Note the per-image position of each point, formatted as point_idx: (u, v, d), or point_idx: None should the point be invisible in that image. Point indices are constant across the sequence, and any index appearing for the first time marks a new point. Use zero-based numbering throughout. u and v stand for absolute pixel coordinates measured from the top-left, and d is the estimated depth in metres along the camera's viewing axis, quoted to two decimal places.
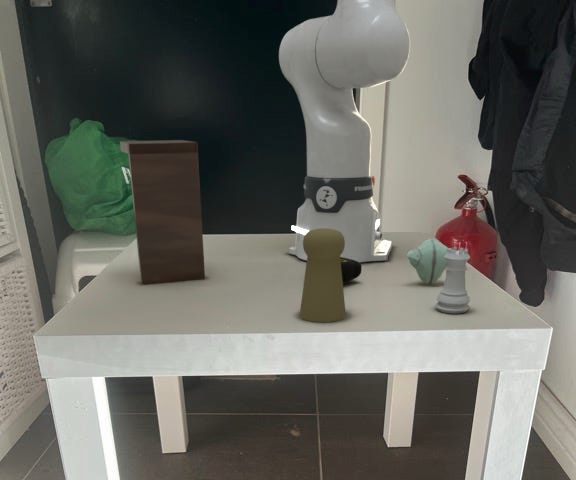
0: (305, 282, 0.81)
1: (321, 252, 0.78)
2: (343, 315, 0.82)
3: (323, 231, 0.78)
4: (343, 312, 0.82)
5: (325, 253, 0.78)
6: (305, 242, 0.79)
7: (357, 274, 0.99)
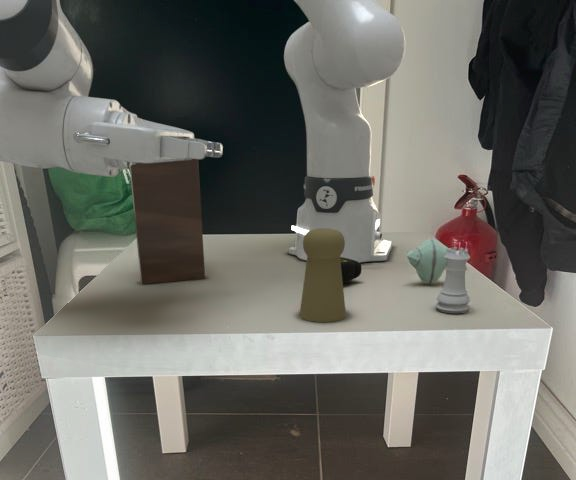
0: (305, 282, 0.81)
1: (321, 252, 0.78)
2: (343, 315, 0.82)
3: (323, 231, 0.78)
4: (343, 312, 0.82)
5: (325, 253, 0.78)
6: (305, 242, 0.79)
7: (357, 274, 0.99)
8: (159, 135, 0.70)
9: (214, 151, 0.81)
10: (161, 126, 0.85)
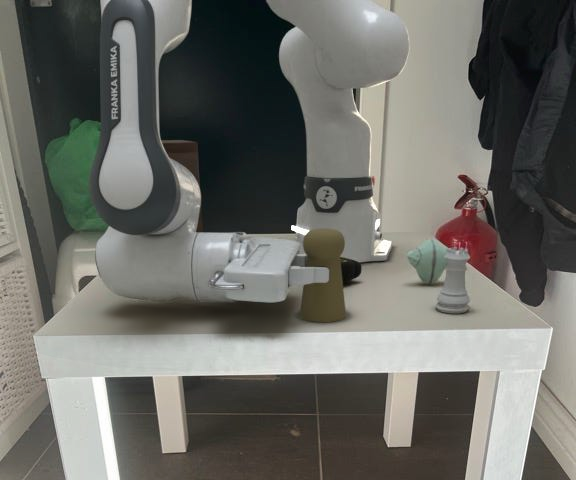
0: None
1: (321, 252, 0.78)
2: (343, 315, 0.82)
3: (323, 231, 0.78)
4: (343, 312, 0.82)
5: (325, 253, 0.78)
6: (305, 242, 0.79)
7: (357, 274, 0.99)
8: (287, 272, 0.75)
9: None
10: (269, 240, 0.89)
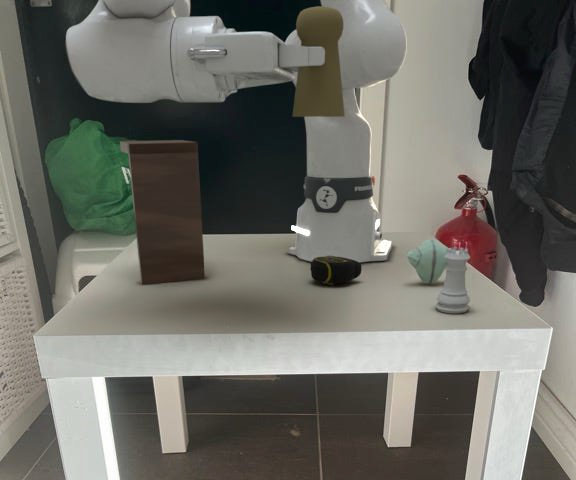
0: (298, 72, 0.72)
1: (317, 28, 0.69)
2: (341, 112, 0.73)
3: (319, 6, 0.69)
4: (341, 109, 0.73)
5: (320, 31, 0.69)
6: (298, 20, 0.70)
7: (357, 274, 0.99)
8: (276, 41, 0.66)
9: None
10: None
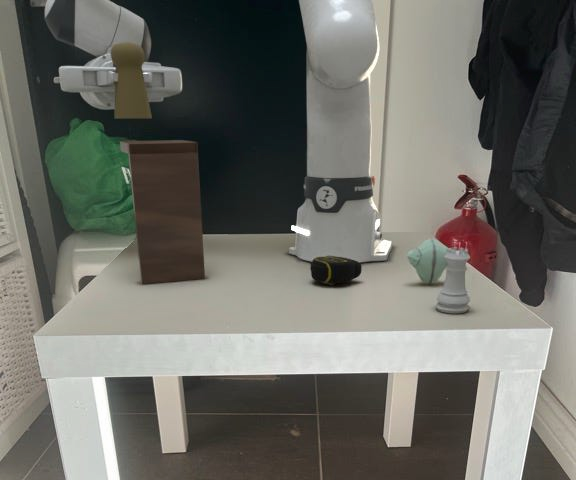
0: None
1: (112, 59, 1.01)
2: (130, 115, 1.03)
3: (119, 43, 1.01)
4: (130, 113, 1.03)
5: (113, 60, 1.01)
6: None
7: (357, 274, 0.99)
8: (79, 70, 1.03)
9: None
10: (165, 68, 1.13)
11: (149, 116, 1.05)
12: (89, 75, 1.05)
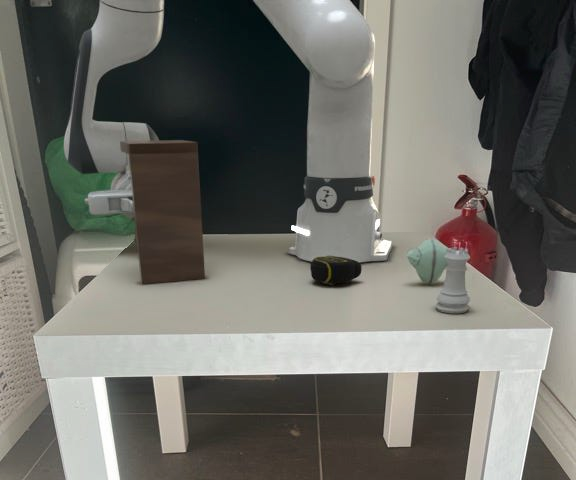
0: None
1: None
2: None
3: None
4: None
5: None
6: None
7: (357, 274, 0.99)
8: (105, 198, 1.16)
9: None
10: None
11: None
12: (114, 201, 1.17)
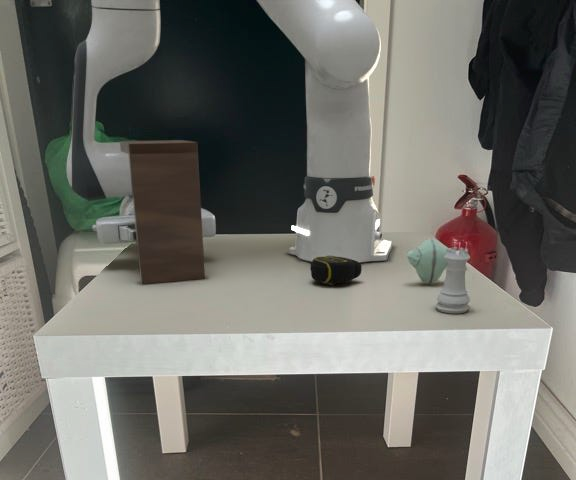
0: None
1: None
2: None
3: None
4: None
5: None
6: None
7: (357, 274, 0.99)
8: (114, 225, 1.06)
9: None
10: None
11: None
12: None
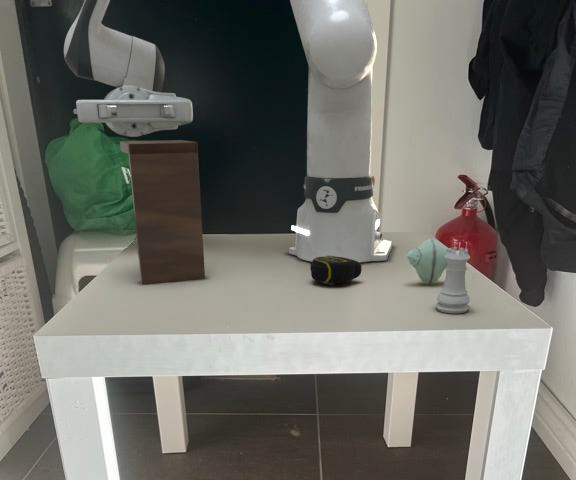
0: None
1: None
2: None
3: None
4: None
5: None
6: None
7: (357, 274, 0.99)
8: (94, 104, 1.10)
9: (164, 111, 1.11)
10: (178, 99, 1.18)
11: None
12: None
